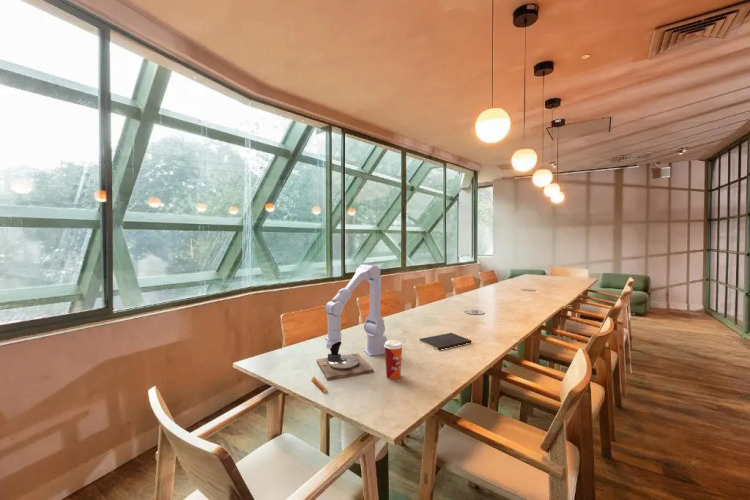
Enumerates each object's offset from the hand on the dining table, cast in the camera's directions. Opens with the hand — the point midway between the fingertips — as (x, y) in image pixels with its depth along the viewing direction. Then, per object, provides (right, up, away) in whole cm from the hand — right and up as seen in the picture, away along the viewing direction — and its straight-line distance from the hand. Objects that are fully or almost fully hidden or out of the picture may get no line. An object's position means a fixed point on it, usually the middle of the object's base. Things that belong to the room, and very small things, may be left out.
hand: (334, 358), depth 141 cm
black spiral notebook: (+56, -3, +31) cm, 64 cm away
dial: (+4, -2, -2) cm, 5 cm away
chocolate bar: (-3, -5, -20) cm, 20 cm away
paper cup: (+25, -4, -11) cm, 28 cm away
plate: (+4, -3, -2) cm, 6 cm away
